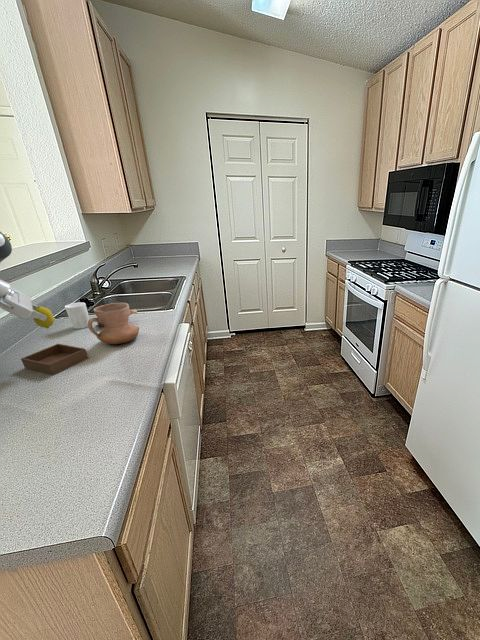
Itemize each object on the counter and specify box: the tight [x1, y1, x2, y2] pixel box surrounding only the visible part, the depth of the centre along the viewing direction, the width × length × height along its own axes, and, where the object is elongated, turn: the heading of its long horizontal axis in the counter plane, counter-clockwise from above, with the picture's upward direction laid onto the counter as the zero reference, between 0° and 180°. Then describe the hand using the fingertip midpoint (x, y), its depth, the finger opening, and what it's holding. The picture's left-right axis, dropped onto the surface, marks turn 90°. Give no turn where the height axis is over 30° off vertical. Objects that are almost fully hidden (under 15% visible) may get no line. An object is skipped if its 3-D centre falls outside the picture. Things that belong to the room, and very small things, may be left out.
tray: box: [20, 343, 89, 376], centre depth 117 cm, size 14×13×4 cm
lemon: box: [32, 305, 55, 330], centre depth 113 cm, size 6×6×8 cm
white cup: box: [64, 301, 90, 330], centre depth 148 cm, size 8×8×10 cm
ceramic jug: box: [87, 302, 140, 345], centre depth 131 cm, size 18×14×14 cm
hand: (45, 316), depth 113 cm, fingers closed on lemon, 5 cm apart
